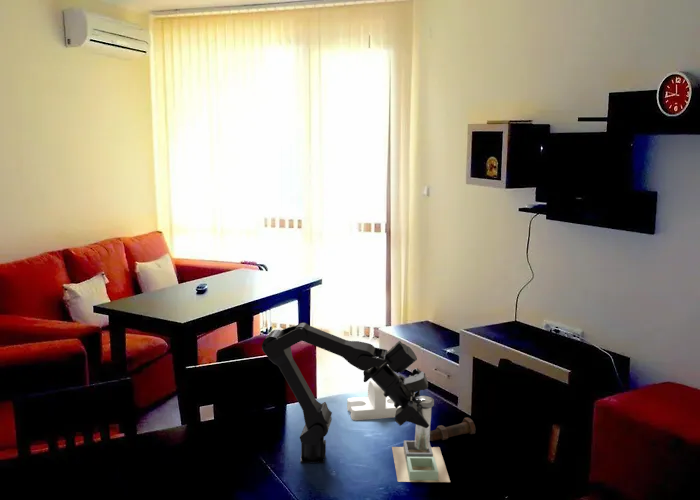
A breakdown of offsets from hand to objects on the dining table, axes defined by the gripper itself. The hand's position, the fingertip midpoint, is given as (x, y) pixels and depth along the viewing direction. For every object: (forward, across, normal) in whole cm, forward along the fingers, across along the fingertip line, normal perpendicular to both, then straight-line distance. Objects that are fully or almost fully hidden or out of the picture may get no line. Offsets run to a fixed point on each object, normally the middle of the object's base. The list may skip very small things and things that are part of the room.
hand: (428, 423), depth 173 cm
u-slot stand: (-2, +32, +22) cm, 39 cm away
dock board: (+8, 0, +11) cm, 14 cm away
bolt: (+15, +18, +5) cm, 24 cm away
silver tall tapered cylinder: (+4, 0, +6) cm, 7 cm away
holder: (+8, +5, +11) cm, 15 cm away
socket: (+9, -4, +10) cm, 14 cm away
